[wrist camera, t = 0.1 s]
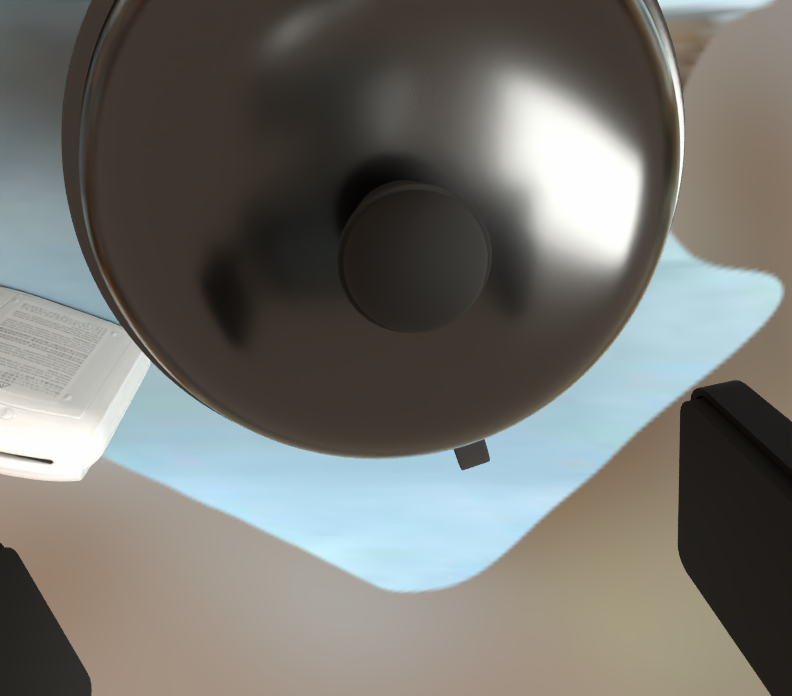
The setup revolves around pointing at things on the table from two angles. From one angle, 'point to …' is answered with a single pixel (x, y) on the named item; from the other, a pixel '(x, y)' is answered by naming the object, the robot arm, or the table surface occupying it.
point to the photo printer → (60, 386)
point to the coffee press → (373, 203)
